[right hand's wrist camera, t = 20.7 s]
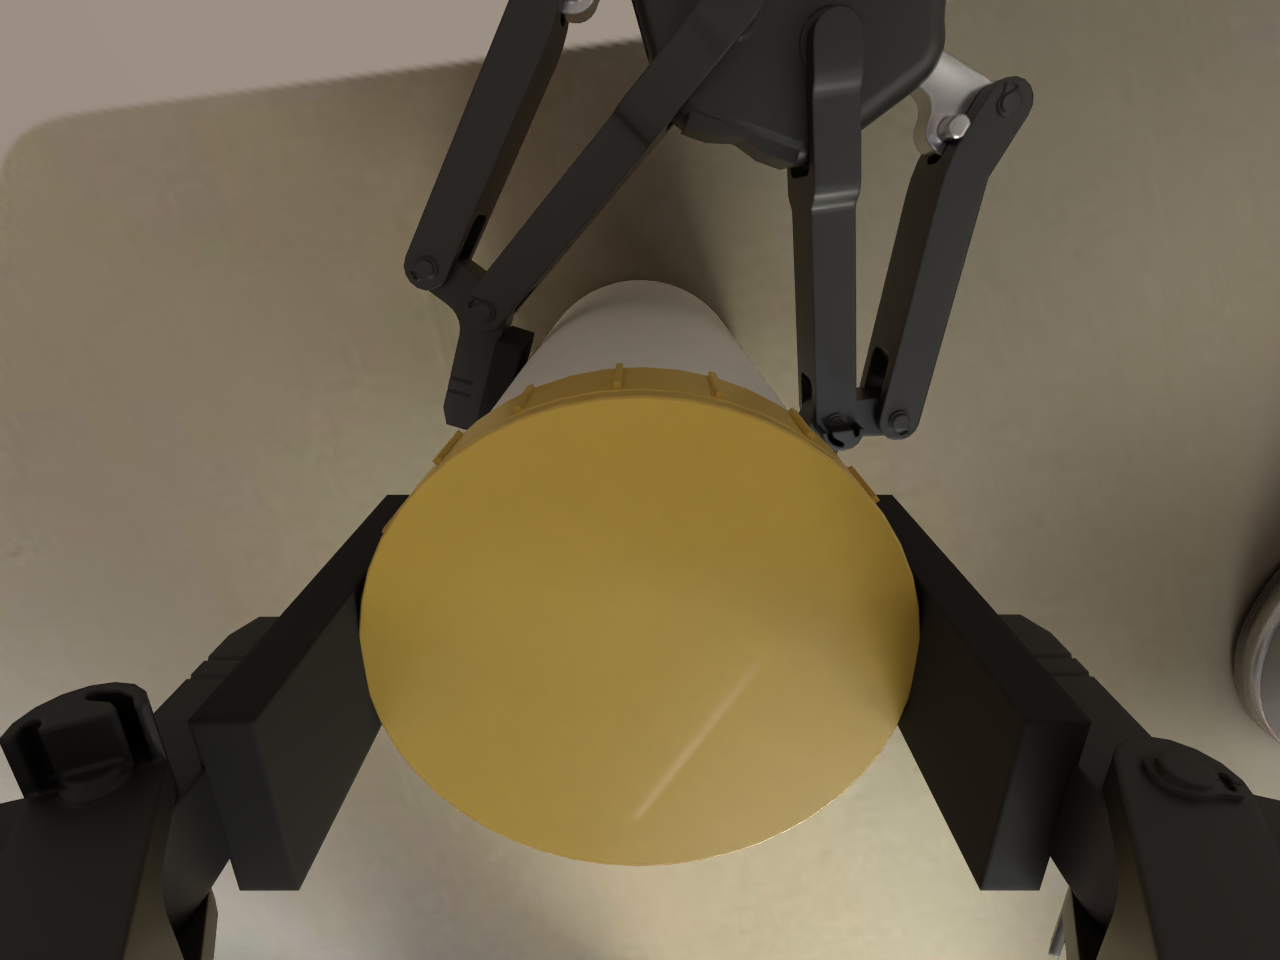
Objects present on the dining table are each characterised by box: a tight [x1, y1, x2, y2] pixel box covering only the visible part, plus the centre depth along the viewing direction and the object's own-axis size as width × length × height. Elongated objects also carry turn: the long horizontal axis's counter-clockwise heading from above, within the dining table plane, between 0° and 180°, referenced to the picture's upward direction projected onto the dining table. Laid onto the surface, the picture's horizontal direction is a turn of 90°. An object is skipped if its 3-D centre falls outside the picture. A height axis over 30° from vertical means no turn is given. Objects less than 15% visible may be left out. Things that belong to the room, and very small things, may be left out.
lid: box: [359, 363, 920, 866], centre depth 12 cm, size 9×9×2 cm
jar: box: [491, 280, 789, 412], centre depth 20 cm, size 8×8×18 cm
